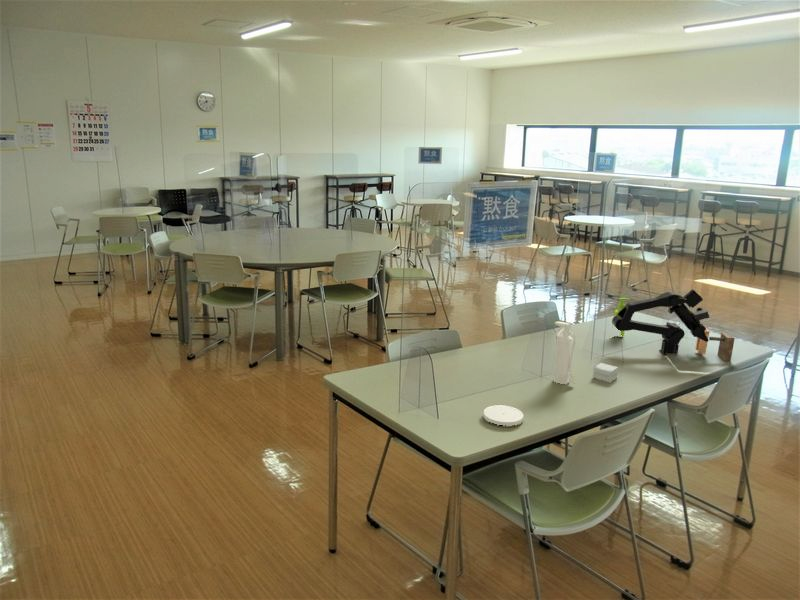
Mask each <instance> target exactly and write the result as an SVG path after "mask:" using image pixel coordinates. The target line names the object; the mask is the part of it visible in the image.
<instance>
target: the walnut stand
mask: <svg viewBox="0 0 800 600" xmlns="http://www.w3.org/2000/svg"><path fill="white" fill-rule="evenodd" d="M735 339H736V338H735V337H734V336H733V335H731V334H730V333H729V332H720V337H719V336H709V337H708V340H709V341H712V342H713V341H716V342H719V344H718V350H717V356H718V357H719V358H720V359H721V360H722V361H723V362H731V361H732V356H733V350H734V346H735V345H734V344H735Z"/></svg>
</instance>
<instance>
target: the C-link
mask: <svg viewBox="0 0 800 600" xmlns="http://www.w3.org/2000/svg"><path fill="white" fill-rule="evenodd" d="M705 328H706V330H705V331H704V332H705V334H706V336H707V338H708V339H709V337H710V330H709V329H708V328H707V327H705ZM696 338H697V337H696ZM708 343H709V341H708V342H706V341H704V340H702V339H699V338H697V339H696V345H695V348H694V349H695V351H697V353H698V354H699V355H700V354H701V355H706V352H707V347H708Z"/></svg>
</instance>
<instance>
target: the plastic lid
mask: <svg viewBox="0 0 800 600" xmlns="http://www.w3.org/2000/svg"><path fill="white" fill-rule="evenodd" d="M482 415H483V416H482V417H483V419H484V420H485V421H486V422H488V423H489V422H491V423H490V424H492V423H494V424H497V425H496V426H499V425H503V426H502V427H513V426H512V425H515V426H518V425H520V424H522V423H523V422H524V417H525V416H524V413H523V411H521V410H520V409H518V408H515V407H513V406H511V405H510V406H509V405H504V404H503V405H500V404H496V405H490V406H487V407H486V408H484V410H483V413H482ZM522 421H523V422H522ZM521 422H522V423H521ZM519 423H520V424H519ZM494 424H493V425H494ZM517 424H518V425H517ZM505 425H506V426H505Z"/></svg>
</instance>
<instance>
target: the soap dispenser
mask: <svg viewBox="0 0 800 600" xmlns="http://www.w3.org/2000/svg"><path fill="white" fill-rule="evenodd" d="M618 300H619V303H618V304H617V309H615V310H614V311H613V312H614V314H613V318H614V317H615V316H616V315H617V314H618V313H619V312H620V311H621V310H622V309H623V308H624V307H625V305H626V304H625V301H631V299H630V298H628V297H618ZM621 335H622V337H623V336H624V337H625V331H621ZM624 337H623V338H624Z"/></svg>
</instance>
